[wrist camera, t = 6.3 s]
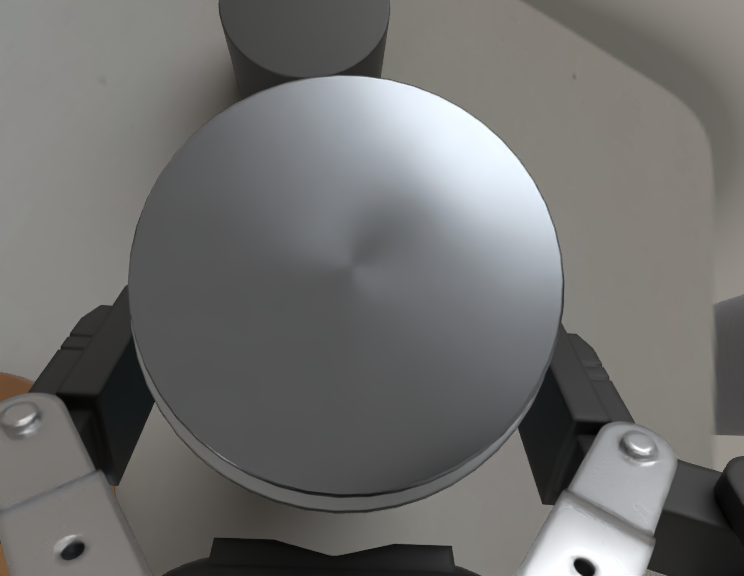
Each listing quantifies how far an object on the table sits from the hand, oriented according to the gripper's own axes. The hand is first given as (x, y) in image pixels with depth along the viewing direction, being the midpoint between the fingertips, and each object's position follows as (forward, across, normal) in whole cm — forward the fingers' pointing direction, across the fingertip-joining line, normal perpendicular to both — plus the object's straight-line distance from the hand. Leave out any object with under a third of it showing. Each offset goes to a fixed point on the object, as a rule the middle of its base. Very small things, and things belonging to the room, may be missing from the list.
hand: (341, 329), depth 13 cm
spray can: (+6, 0, +7) cm, 9 cm away
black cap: (+16, +2, -2) cm, 16 cm away
